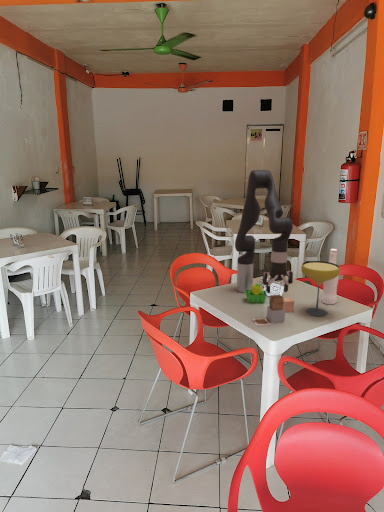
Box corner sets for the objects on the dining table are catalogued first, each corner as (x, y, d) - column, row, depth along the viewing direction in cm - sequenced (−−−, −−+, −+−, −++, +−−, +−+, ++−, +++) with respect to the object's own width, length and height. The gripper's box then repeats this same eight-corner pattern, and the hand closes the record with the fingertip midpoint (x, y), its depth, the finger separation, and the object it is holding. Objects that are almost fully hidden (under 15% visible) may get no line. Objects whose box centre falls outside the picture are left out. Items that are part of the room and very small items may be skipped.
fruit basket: (265, 298, 218) (266, 279, 215) (266, 304, 209) (267, 285, 206) (244, 298, 219) (245, 279, 216) (245, 304, 210) (246, 284, 207)
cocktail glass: (302, 319, 190) (306, 270, 184) (295, 305, 208) (298, 260, 202) (340, 320, 189) (345, 271, 183) (329, 306, 207) (333, 260, 200)
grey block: (266, 317, 193) (267, 306, 191) (279, 316, 194) (279, 305, 192) (271, 323, 187) (272, 311, 185) (284, 322, 188) (285, 310, 186)
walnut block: (269, 306, 191) (269, 295, 189) (278, 306, 192) (279, 294, 190) (272, 310, 186) (273, 299, 185) (282, 310, 187) (283, 298, 185)
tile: (251, 320, 190) (252, 318, 190) (265, 319, 191) (265, 317, 191) (256, 326, 183) (256, 324, 183) (270, 325, 184) (270, 323, 184)
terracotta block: (280, 309, 203) (281, 298, 202) (289, 308, 204) (290, 297, 203) (284, 312, 199) (284, 301, 197) (293, 312, 199) (294, 301, 198)
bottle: (317, 301, 214) (322, 248, 206) (328, 298, 217) (333, 246, 210) (329, 306, 207) (333, 251, 199) (339, 303, 210) (345, 249, 203)
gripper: (290, 257, 187) (287, 288, 191) (261, 258, 185) (260, 290, 189) (296, 261, 180) (294, 294, 184) (267, 262, 178) (265, 296, 182)
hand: (276, 292), depth 187 cm, fingers open, 8 cm apart
